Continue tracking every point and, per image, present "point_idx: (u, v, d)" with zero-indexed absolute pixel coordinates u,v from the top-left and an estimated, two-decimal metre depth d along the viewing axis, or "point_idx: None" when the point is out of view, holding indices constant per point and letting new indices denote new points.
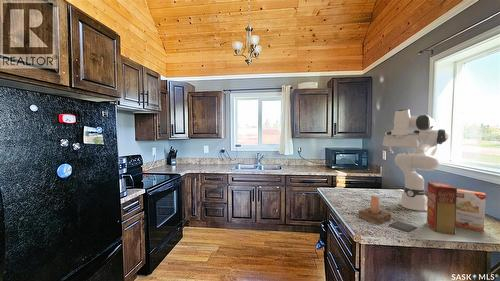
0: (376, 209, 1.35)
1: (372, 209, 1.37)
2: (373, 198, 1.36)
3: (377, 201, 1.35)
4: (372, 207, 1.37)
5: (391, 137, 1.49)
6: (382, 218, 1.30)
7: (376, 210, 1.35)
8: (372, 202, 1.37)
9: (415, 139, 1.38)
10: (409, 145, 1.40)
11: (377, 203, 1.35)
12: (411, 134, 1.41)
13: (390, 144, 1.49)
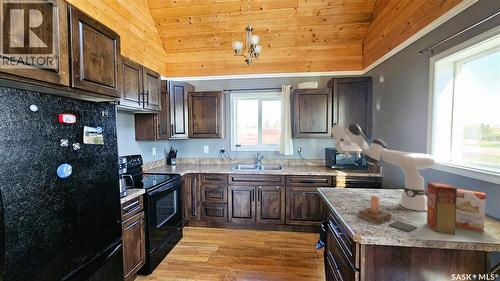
0: (376, 209, 1.35)
1: (372, 209, 1.37)
2: (373, 198, 1.36)
3: (377, 201, 1.35)
4: (372, 207, 1.37)
5: (344, 143, 1.56)
6: (382, 218, 1.30)
7: (376, 210, 1.35)
8: (372, 202, 1.37)
9: (358, 145, 1.61)
10: (358, 149, 1.58)
11: (377, 203, 1.35)
12: (351, 143, 1.63)
13: (346, 149, 1.53)
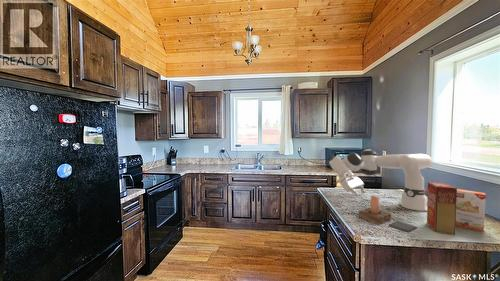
0: (376, 209, 1.35)
1: (372, 209, 1.37)
2: (373, 198, 1.36)
3: (377, 201, 1.35)
4: (372, 207, 1.37)
5: (349, 179, 1.45)
6: (382, 218, 1.30)
7: (376, 210, 1.35)
8: (372, 202, 1.37)
9: (359, 178, 1.53)
10: (361, 183, 1.49)
11: (377, 203, 1.35)
12: (352, 176, 1.54)
13: (353, 186, 1.42)
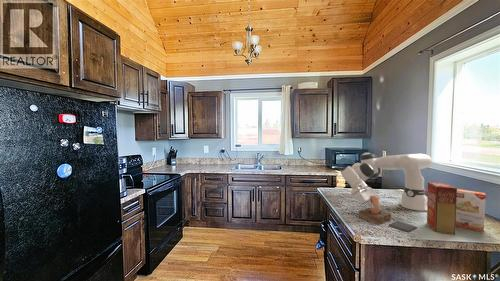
0: (376, 209, 1.35)
1: (372, 209, 1.37)
2: (373, 198, 1.36)
3: (377, 201, 1.35)
4: None
5: (363, 191, 1.39)
6: (382, 218, 1.30)
7: (376, 210, 1.35)
8: (372, 202, 1.37)
9: (372, 189, 1.47)
10: (375, 195, 1.43)
11: (377, 203, 1.35)
12: None
13: (367, 198, 1.36)
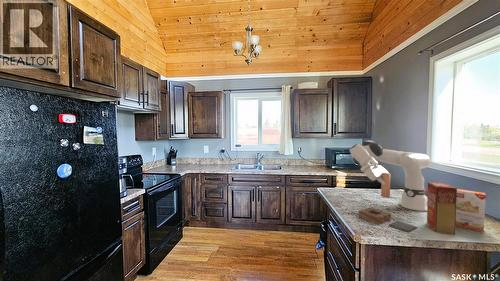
0: (387, 186, 1.30)
1: (383, 186, 1.31)
2: (384, 175, 1.30)
3: (388, 178, 1.30)
4: None
5: (373, 167, 1.33)
6: (382, 218, 1.30)
7: (387, 187, 1.30)
8: (383, 179, 1.31)
9: (383, 167, 1.41)
10: None
11: (388, 180, 1.30)
12: None
13: (378, 174, 1.30)
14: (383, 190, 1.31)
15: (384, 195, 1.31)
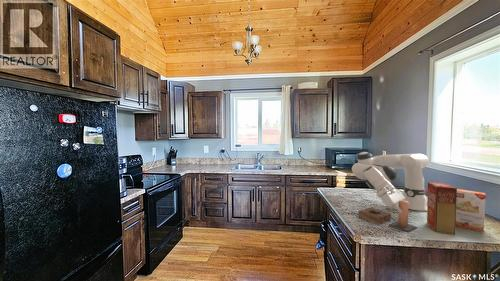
0: (405, 215, 1.24)
1: (401, 215, 1.25)
2: (402, 203, 1.24)
3: (406, 206, 1.24)
4: (401, 213, 1.25)
5: (390, 193, 1.27)
6: (382, 218, 1.30)
7: (405, 216, 1.24)
8: (401, 207, 1.25)
9: (399, 191, 1.35)
10: (402, 197, 1.31)
11: (406, 208, 1.24)
12: None
13: (395, 201, 1.24)
14: (401, 219, 1.25)
15: (402, 224, 1.25)
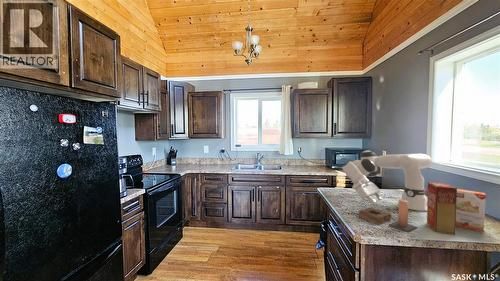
0: (405, 215, 1.24)
1: (400, 215, 1.25)
2: (402, 203, 1.25)
3: (406, 206, 1.24)
4: (400, 212, 1.25)
5: (364, 186, 1.38)
6: (382, 218, 1.30)
7: (405, 216, 1.24)
8: (400, 207, 1.25)
9: (374, 184, 1.46)
10: (377, 190, 1.42)
11: (406, 208, 1.24)
12: None
13: (369, 193, 1.35)
14: (401, 219, 1.25)
15: (402, 224, 1.25)
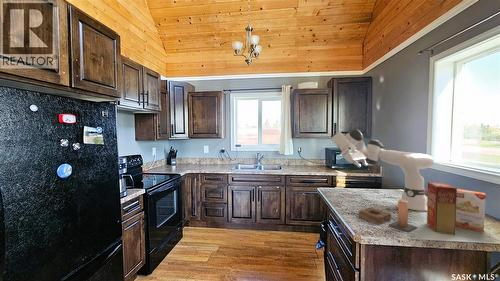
0: (405, 215, 1.24)
1: (400, 215, 1.25)
2: (401, 203, 1.25)
3: (406, 206, 1.24)
4: (400, 213, 1.25)
5: (351, 152, 1.49)
6: (382, 218, 1.30)
7: (405, 216, 1.24)
8: (400, 207, 1.25)
9: (361, 152, 1.57)
10: (363, 157, 1.53)
11: (406, 208, 1.24)
12: None
13: (355, 158, 1.47)
14: (400, 219, 1.25)
15: (402, 224, 1.25)
